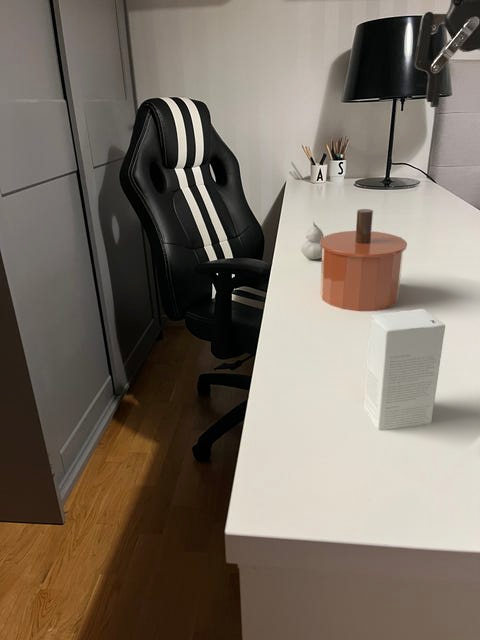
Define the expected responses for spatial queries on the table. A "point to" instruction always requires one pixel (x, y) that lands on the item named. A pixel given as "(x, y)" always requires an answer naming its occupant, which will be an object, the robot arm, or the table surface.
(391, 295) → the jar
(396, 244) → the jar lid
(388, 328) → the cosmetic box
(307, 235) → the white lumpy pointed piece
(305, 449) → the table surface
